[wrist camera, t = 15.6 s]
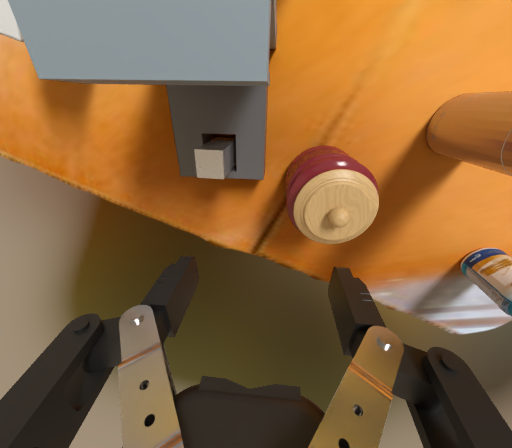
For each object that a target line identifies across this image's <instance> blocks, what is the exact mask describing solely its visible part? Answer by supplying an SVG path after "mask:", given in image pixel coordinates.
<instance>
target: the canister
mask: <svg viewBox="0 0 512 448" xmlns="http://www.w3.org/2000/svg"><path fill="white" fill-rule="evenodd" d="M285 189H286V199H287V211H288V215H289V218H290V220H291V221H292V223H293V225H294V226H295V227H296V228H297V229H298V230H299V231H300V232H302V233H303V234H304V235H305V236H306V237H308V238H309V239H311V240H313V241H316V242H319V243H323V244H338V243H343V242H346V241H349V240H352V239H354V238H356V237H357V236H359V235H360V234H362V233H363V232H364V231H365V230H366V229H367V228H368V227H369V226H370V225H371V224H372V222H373V221H374V219H375V217H376V214H377V212H378V207H379V197H378V186H377V183H376V180H375V178H374V176H373V175H372V173H371V172H370V171H369V170H368V169H367V168H366V167H365V166H363V165H362V164H360V163H359V162H358V161H356V160H355V159H353V158H351V157H350V156H349V155H348V154H346V153H345V152H344V151H342V150H340V149H338V148H336V147H332V146H317V147H313V148H310V149H308V150H306V151H304V152H302V153H301V154H300V155H298V156H297V157H296V158H295V159H294V160H293V162H292V163H291V165H290V166H289V168H288V171H287V174H286V178H285Z"/></svg>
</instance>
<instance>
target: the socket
mask: <svg viewBox="0 0 512 448" xmlns="http://www.w3.org/2000/svg"><path fill="white" fill-rule="evenodd" d="M166 87H167V93H168V99H169V106H170V112H171V118H172V125H173V131H174V137H175V143H176V150H177V156H178V162H179V168H180V175H181V176H190V177H197V171H196V162H195V152H194V149H195V148H197V147H199V146H201V145H203V144H205V143H207V142H209V141H211V134H236V164H237V165H234V166H233V168H232V169H231V171H230V172H229V173H228V175H227V176H226V177H225V178H236V179H258V180H263V179H264V174H265V154H266V127H267V100H268V86H223V85H166Z"/></svg>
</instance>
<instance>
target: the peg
mask: <svg viewBox="0 0 512 448" xmlns="http://www.w3.org/2000/svg"><path fill="white" fill-rule="evenodd" d="M194 152H195V162H196V171H197V178H211V179H225V177H226V176H227V175H228V173H229V172H230V171H231V169H232V168H233V166H234V165H235V164H236V138H217V137H216V138H214V139H212V140H211V141H209V142H207V143H205V144H203V145H201V146H199V147H197V148H195V149H194Z"/></svg>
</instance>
